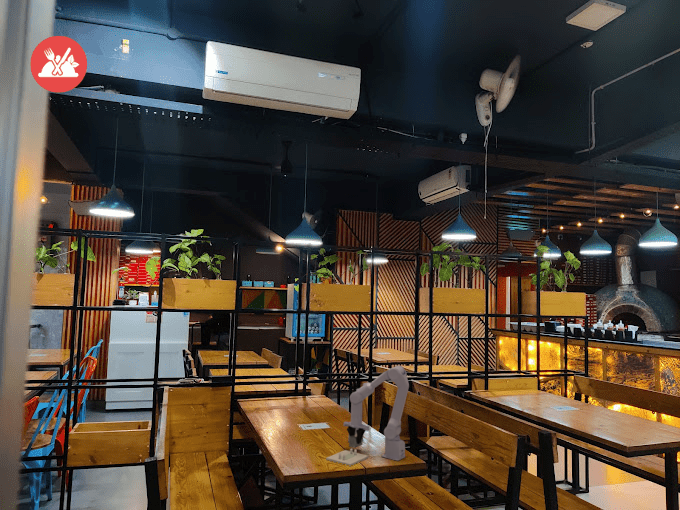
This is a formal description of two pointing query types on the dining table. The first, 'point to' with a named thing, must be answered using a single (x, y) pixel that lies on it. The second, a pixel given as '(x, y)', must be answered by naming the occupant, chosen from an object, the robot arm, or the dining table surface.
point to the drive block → (354, 441)
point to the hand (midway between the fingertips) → (355, 442)
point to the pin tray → (347, 457)
